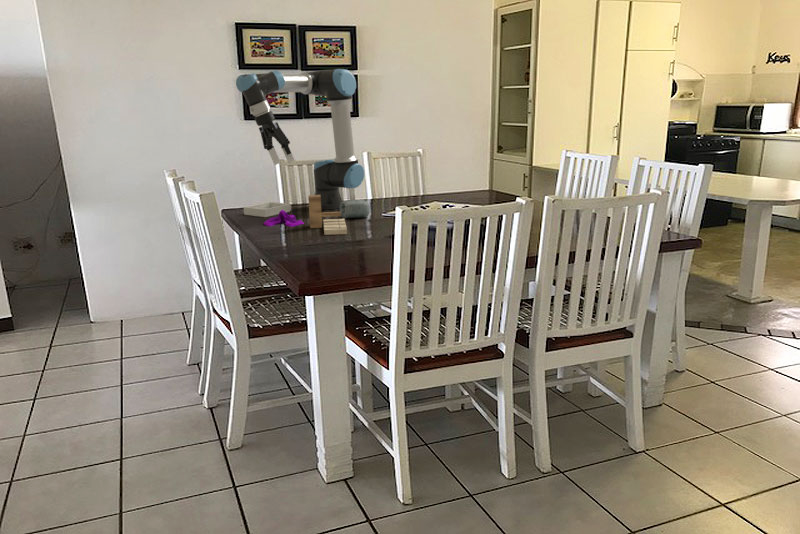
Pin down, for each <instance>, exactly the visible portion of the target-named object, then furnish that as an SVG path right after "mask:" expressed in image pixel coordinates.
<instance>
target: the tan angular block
mask: <svg viewBox="0 0 800 534" xmlns="http://www.w3.org/2000/svg"><path fill="white" fill-rule="evenodd" d="M307 199H308V212H309V213H308V214H309V215H308V216H309V229H320V228H323V218H324V217H325V218H327V217H328V218H330V217H337V219H340V217H342V216H341V212H340V211H328V212H327V211H323V212H322V209H321V196H320V195H315V194H310V195H308V196H307Z"/></svg>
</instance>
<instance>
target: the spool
mask: <svg viewBox="0 0 800 534" xmlns="http://www.w3.org/2000/svg"><path fill="white" fill-rule="evenodd" d="M342 201H343V202H341V204H340V208H339V212H341V216H340V217H341V219H345V220H347V219H355V218H356V219H357V218H358V219H359V218H361V219H363V218H367V217H369V215H370V212H371V206H370V203H369V202H368V201H367V200H364V199H349V200H342Z"/></svg>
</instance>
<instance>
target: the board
mask: <svg viewBox="0 0 800 534" xmlns="http://www.w3.org/2000/svg"><path fill="white" fill-rule="evenodd" d="M322 223H323V232H324V233H323V235H324V236H329V235H330V236H331V235H348V227H347V224H346V219H345V218H331V219H330V218H329V219H326V218H325V219H322Z"/></svg>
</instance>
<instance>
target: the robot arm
mask: <svg viewBox="0 0 800 534" xmlns="http://www.w3.org/2000/svg"><path fill="white" fill-rule="evenodd" d="M235 84H236V88H237V90H238V91H239V92H240V93H242V95H243V96H244V98H245V101H246V103H247V105H248V107H249V111H250V112H251V113H252V116H254V120H255V123H256V125H257V126H258V130H259V132H260V136H261V140H262V145H263V149H265V150H267V151H268V153H269V155H270V157H271V160H272V162H273V164H274V166H276V165H278V164H281V160H280V158H279V155H278V154H277V153H278V152H277V151H276V149H275V146H274V145H273V138H274V139H275V141H276V142H277V143H278V144H279V145H280V146H281V150H282V152H283V154H284V156H285V158H286V161H287V163H288V164H291V163H293V162H295V160H296V159H295V158H294V156H293V153H292V151H291V149H290V146H289V144H291V142H290V140H289V138H288V137H287V136H286V134H285V133H284V131H283V130H282V128H281V127H280V125H279V123H278V122H277V121H276V122H274V121H275V120H276V118H275V115H274V113H273V111H272V110H271V109H272V108H271V106H270V104H269V101H268V99H267V97H266V96H267V95H270V94H272V93H302V94H303V95H312V96H319V97H320V96H321V97H325V98H326V99H325V100H326V102H327V103H328V104H329V105H330V111H331V112H330V113H331V123H332V130H333V131H332V133H333V138H334V139H333V140H334V151H335V157H334V159H328V160H327V159H326V160H318V161H315V162H314V164H313V178H314V179H313V180H314V195H320V196H321V210H336V209H340V204H341V202H343V201H344V200H343V199H342V195H341V192H340V188H341V189H342V188H343V189H345V188H346V189H348V190H349V189H357V188H358V187H359V186H360V185H361V184H362V182H363V181H364V179H365V178H364V177H365V169H364V168H365V167H363V165H361V163H359V158H358V157H357V156H355V149H354V138H353V130H352V129H353V128H352V118H351V109H350V103H351V101H352V100H353V95H354V94H355V92H356V89H357V80H356V78H355V75H354V74H353V73H351V71H349V70H348V69H346V68H345V69H344V68H335V69H334V68H333V69H320V70H315V71H308V72H306V71H304V72H300V74H283V73H282V72H281V71H279V70H277V69H276V70H273V71H270V72H267V73H266V72H265V73H253V72H252V73H243V74H240V75H238V76H237V77H236V81H235Z"/></svg>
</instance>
